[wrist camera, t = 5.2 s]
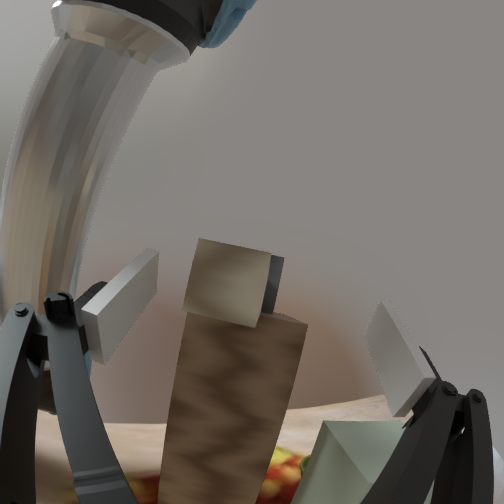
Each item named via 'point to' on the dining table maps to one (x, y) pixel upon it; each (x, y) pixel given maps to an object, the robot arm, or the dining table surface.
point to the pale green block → (348, 461)
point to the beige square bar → (232, 282)
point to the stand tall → (227, 407)
